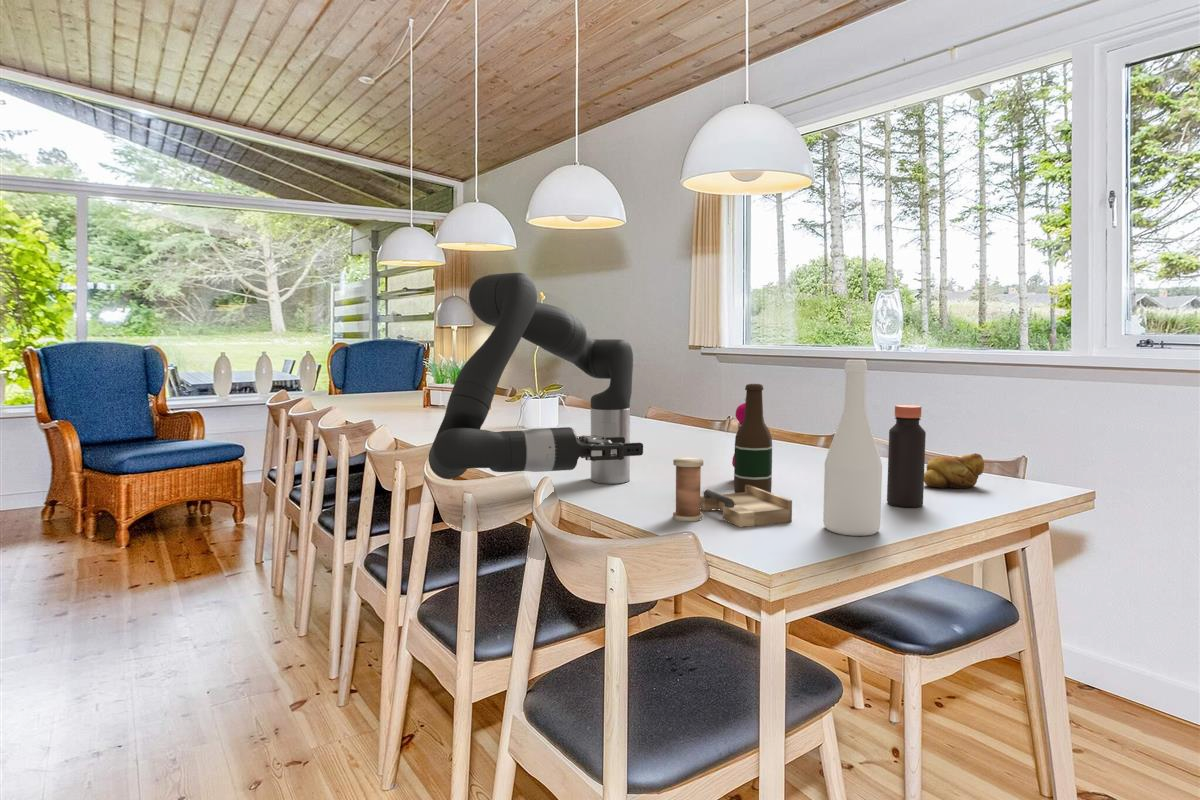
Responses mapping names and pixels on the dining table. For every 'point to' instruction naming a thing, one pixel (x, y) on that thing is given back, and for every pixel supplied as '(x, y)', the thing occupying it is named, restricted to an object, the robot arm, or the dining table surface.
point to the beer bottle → (753, 445)
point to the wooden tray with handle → (749, 506)
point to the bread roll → (954, 471)
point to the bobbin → (688, 489)
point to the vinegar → (906, 458)
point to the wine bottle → (853, 465)
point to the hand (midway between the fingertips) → (633, 445)
